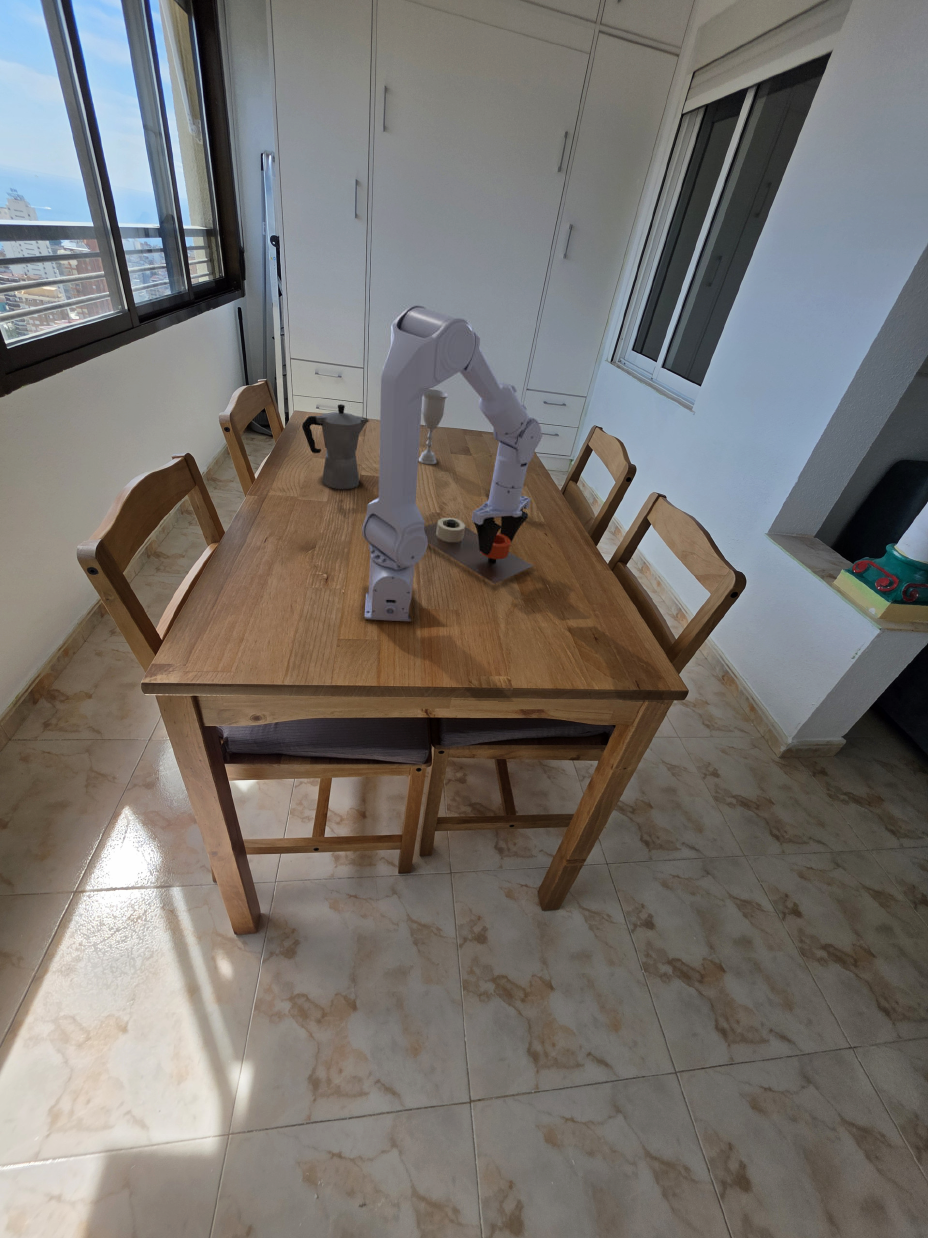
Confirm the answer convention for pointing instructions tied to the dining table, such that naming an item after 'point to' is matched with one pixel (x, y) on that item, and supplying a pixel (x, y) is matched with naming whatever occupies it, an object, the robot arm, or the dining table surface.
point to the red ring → (499, 547)
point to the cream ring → (450, 530)
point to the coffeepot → (337, 446)
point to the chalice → (432, 419)
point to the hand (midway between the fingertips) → (494, 548)
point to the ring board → (476, 555)
